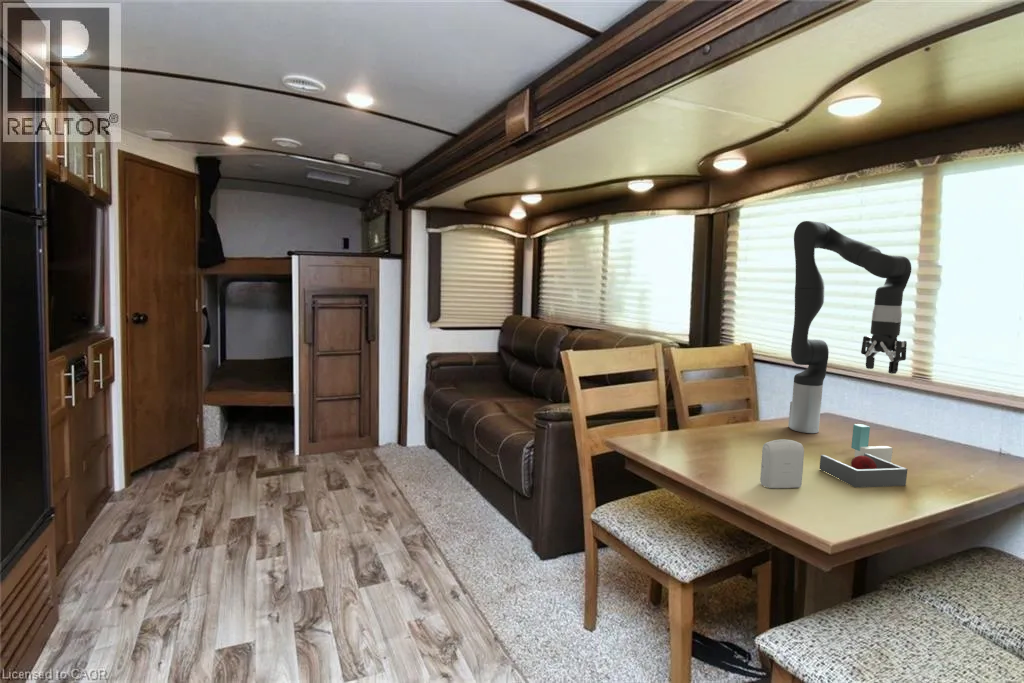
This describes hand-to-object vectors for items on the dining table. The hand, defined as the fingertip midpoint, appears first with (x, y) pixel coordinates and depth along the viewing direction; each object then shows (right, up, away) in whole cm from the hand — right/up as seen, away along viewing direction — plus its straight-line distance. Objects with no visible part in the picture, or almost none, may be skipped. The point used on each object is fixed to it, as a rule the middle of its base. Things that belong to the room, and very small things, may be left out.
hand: (880, 371), depth 167 cm
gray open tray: (-21, -28, -21) cm, 41 cm away
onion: (-21, -25, -18) cm, 37 cm away
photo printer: (-47, -29, -30) cm, 62 cm away
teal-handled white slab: (-9, -27, -7) cm, 29 cm away
